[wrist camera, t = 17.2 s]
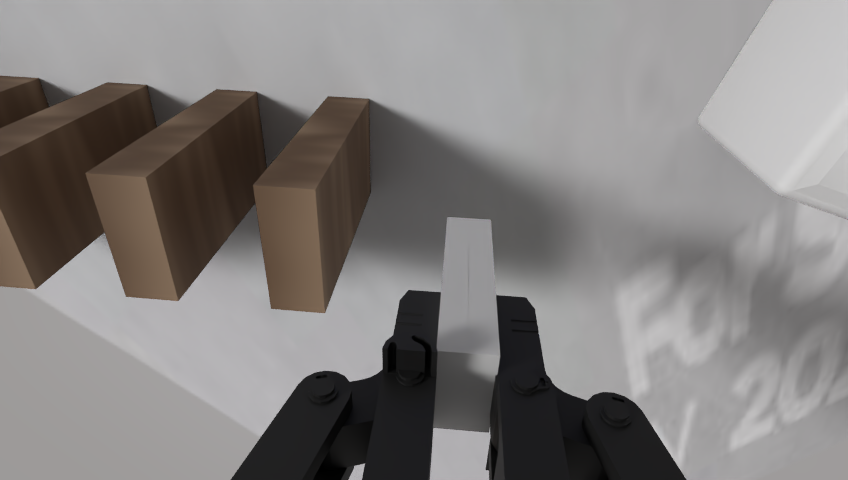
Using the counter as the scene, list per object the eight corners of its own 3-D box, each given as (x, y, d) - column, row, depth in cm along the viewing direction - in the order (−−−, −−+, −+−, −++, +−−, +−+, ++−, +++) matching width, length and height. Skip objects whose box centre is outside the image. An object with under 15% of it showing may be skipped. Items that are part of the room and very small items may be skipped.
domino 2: (256, 91, 25) (145, 177, 16) (268, 185, 28) (178, 300, 19) (216, 89, 25) (85, 173, 17) (232, 182, 28) (126, 296, 19)
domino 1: (369, 99, 25) (315, 189, 16) (370, 192, 27) (324, 313, 19) (327, 96, 25) (253, 185, 16) (333, 189, 27) (271, 308, 19)
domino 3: (146, 84, 25) (-19, 165, 17) (169, 178, 28) (36, 289, 19) (107, 82, 25) (-78, 161, 17) (133, 175, 28) (-16, 284, 19)
